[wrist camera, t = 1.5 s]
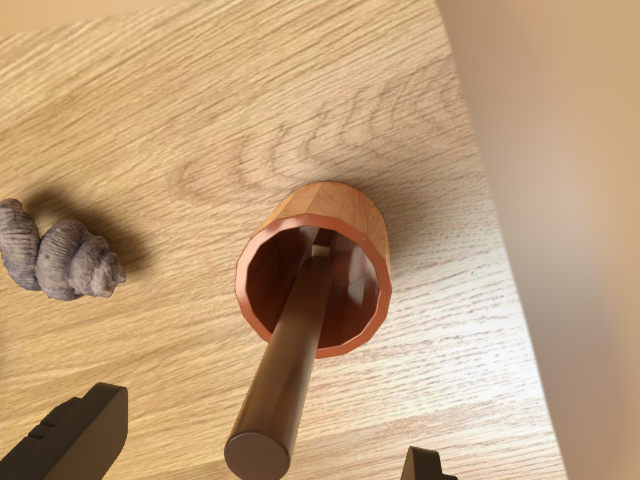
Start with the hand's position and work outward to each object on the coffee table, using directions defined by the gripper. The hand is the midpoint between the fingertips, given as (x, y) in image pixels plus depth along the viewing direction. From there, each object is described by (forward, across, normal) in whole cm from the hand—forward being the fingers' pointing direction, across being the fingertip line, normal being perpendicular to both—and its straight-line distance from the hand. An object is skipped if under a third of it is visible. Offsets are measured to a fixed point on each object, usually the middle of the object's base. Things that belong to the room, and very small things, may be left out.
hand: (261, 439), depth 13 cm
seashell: (+18, +18, +3) cm, 25 cm away
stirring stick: (+17, 0, 0) cm, 17 cm away
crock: (+18, 0, 0) cm, 18 cm away
